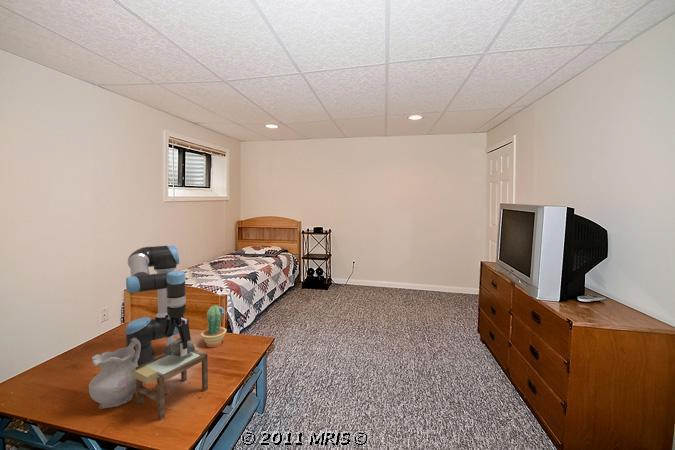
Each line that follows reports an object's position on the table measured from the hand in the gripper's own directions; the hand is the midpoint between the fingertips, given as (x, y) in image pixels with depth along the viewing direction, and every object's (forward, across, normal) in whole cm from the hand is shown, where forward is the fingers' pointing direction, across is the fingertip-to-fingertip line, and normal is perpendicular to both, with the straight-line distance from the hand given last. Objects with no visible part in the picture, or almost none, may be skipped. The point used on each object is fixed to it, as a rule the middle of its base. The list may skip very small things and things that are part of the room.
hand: (177, 352), depth 131 cm
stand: (+20, 0, -2) cm, 20 cm away
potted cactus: (+21, -27, +42) cm, 54 cm away
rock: (+1, 0, 0) cm, 1 cm away
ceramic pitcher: (+21, -21, -14) cm, 33 cm away
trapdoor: (+5, 0, -4) cm, 7 cm away
